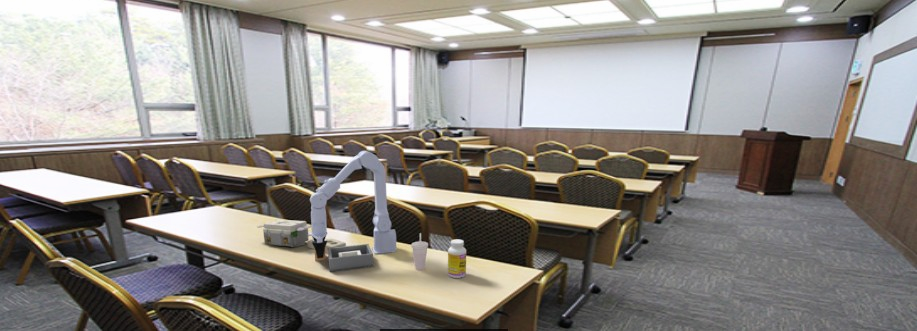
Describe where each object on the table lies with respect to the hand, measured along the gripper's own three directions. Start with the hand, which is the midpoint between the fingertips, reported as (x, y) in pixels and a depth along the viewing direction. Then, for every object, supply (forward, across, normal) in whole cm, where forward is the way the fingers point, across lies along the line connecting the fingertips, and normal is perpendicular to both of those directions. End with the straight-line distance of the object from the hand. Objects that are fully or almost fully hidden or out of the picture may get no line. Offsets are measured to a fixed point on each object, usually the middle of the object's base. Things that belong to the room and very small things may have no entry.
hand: (320, 254), depth 154 cm
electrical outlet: (+2, -12, +3) cm, 12 cm away
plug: (+2, 0, 0) cm, 2 cm away
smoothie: (+2, +24, +36) cm, 43 cm away
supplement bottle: (+2, +35, +46) cm, 58 cm away
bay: (+2, +10, +11) cm, 15 cm away
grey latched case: (+2, -26, -14) cm, 30 cm away
